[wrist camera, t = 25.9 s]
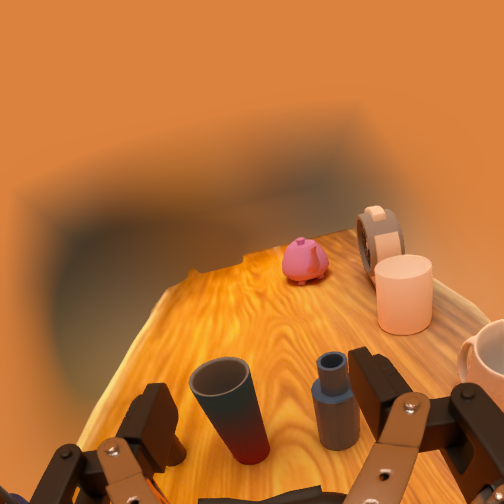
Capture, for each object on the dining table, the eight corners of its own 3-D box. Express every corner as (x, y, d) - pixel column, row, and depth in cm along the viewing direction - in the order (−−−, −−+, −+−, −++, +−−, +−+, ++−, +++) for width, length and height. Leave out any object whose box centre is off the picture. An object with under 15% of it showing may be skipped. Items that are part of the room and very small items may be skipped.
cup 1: (255, 477, 29) (218, 404, 25) (218, 456, 33) (176, 383, 29) (286, 443, 33) (262, 364, 30) (248, 427, 38) (218, 351, 34)
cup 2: (368, 328, 54) (363, 274, 51) (392, 302, 61) (389, 252, 58) (419, 340, 45) (420, 282, 42) (438, 309, 52) (439, 256, 48)
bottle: (323, 454, 30) (310, 382, 26) (317, 426, 35) (303, 352, 31) (363, 444, 29) (363, 368, 26) (354, 416, 35) (349, 340, 31)
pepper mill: (156, 465, 32) (122, 421, 29) (163, 444, 36) (132, 399, 34) (183, 466, 32) (151, 421, 29) (188, 444, 36) (160, 398, 33)
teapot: (344, 280, 79) (338, 238, 76) (298, 297, 77) (289, 253, 74) (317, 263, 98) (310, 227, 95) (278, 275, 96) (269, 239, 93)
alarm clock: (361, 274, 80) (351, 205, 75) (388, 268, 79) (380, 199, 73) (376, 302, 63) (367, 217, 58) (409, 294, 62) (402, 210, 56)
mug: (426, 401, 32) (436, 328, 29) (478, 369, 32) (491, 297, 29) (480, 467, 17) (519, 396, 14) (534, 419, 18) (567, 342, 15)
